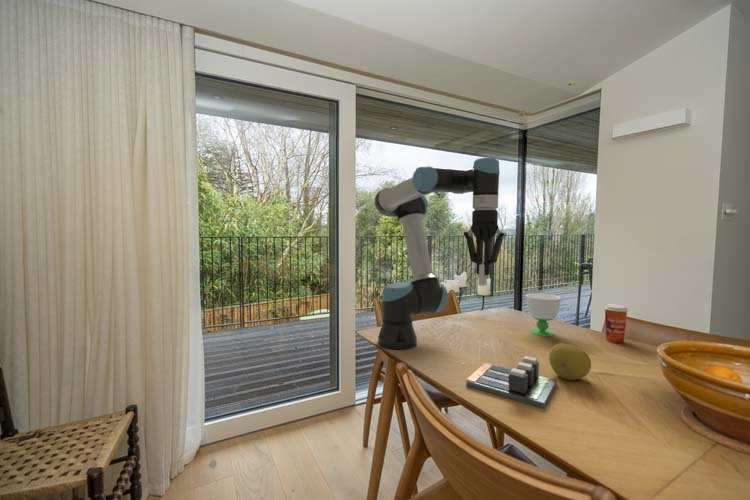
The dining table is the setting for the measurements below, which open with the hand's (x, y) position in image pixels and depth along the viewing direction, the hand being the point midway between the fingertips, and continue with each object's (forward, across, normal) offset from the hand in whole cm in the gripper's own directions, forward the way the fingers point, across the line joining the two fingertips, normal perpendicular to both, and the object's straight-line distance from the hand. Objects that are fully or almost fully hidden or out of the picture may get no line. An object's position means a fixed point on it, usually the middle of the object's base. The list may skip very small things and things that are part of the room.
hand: (482, 284), depth 105 cm
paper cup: (+27, +31, +58) cm, 71 cm away
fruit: (+27, +23, +10) cm, 37 cm away
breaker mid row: (+24, +15, -6) cm, 30 cm away
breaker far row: (+25, +15, -1) cm, 29 cm away
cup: (+28, +6, +51) cm, 59 cm away
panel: (+27, +12, -7) cm, 30 cm away
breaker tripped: (+24, +15, -12) cm, 31 cm away
